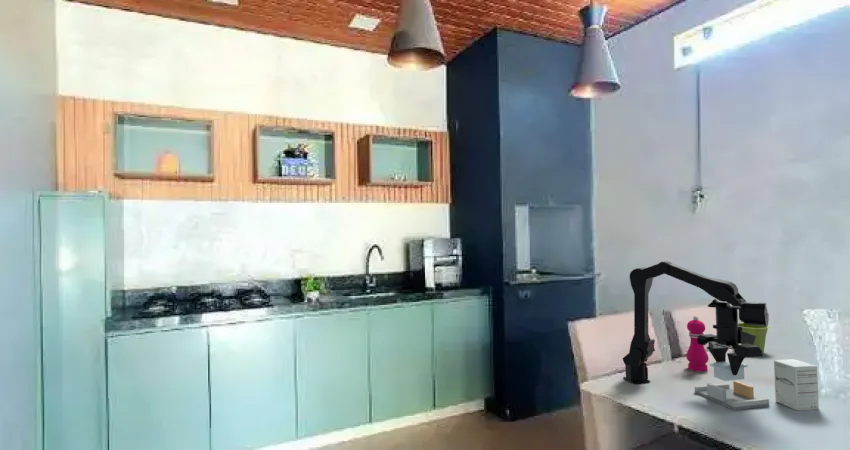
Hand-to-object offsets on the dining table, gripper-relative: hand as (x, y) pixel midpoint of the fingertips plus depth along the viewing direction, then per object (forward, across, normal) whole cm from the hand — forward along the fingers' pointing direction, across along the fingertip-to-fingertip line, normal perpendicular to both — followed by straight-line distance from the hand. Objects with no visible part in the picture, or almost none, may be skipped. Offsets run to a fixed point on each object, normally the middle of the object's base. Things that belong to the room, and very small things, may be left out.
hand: (728, 373), depth 141 cm
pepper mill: (+8, +29, -14) cm, 33 cm away
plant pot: (+8, +44, -54) cm, 70 cm away
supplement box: (+8, -9, -14) cm, 19 cm away
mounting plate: (+8, 0, 0) cm, 8 cm away
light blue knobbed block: (+2, 0, 0) cm, 2 cm away
